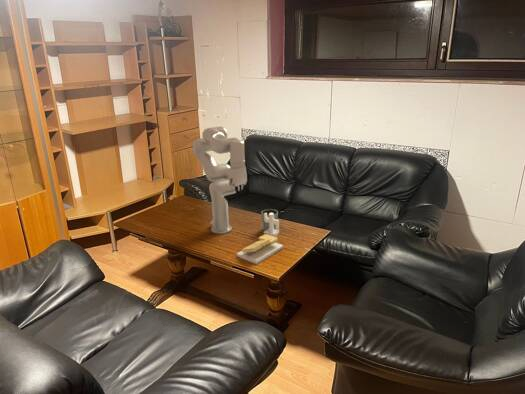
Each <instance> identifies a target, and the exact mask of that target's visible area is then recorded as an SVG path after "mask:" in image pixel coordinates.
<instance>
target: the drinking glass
mask: <svg viewBox="0 0 525 394" xmlns="http://www.w3.org/2000/svg"><path fill="white" fill-rule="evenodd" d="M264 213H267V218H269V213H274V219H276V220H279V219H278V218H279V217H278V216H279V211H278V210H276V209H272V208H268V209H264V210H263V209H262V210H261V213H260V214H261V218H262V230H263V232H265V231H266V230H267V229H268V228H269V223H267V222H265V221H264ZM274 229H276V224H274Z"/></svg>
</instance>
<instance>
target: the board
mask: <svg viewBox="0 0 525 394" xmlns="http://www.w3.org/2000/svg"><path fill="white" fill-rule="evenodd" d="M284 246H285V245H284V244H281V243H278V242H276V243H274V244H272V245H270V244H267V245H265V246H263V247H262V248H260V249H258V250H257V251H255V252H245V253H243V252H242V250H241V251H239V252H236V257H238V258H240V259H243V260H246V261H248V262H250V263H253V264H255V265H258V264H260V263H262V262H263V261H264V260H266V259H268V258H269V257H271V256H272V255H274V254H276V253H278V252H279V251H281V250H282V249H284V248H285V247H284Z"/></svg>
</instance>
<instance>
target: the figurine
mask: <svg viewBox="0 0 525 394" xmlns="http://www.w3.org/2000/svg"><path fill="white" fill-rule="evenodd" d="M264 221H265V222H267V223H269V228H268V229H267V230H266V231H265V232H264V231H263V235H264V234H268V235H271V236H274V237H277V236H278V235H279V233H280V220H279V219H277V220H276V219H274V213H269V218H267V213H264ZM274 224H276V229H274Z"/></svg>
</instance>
